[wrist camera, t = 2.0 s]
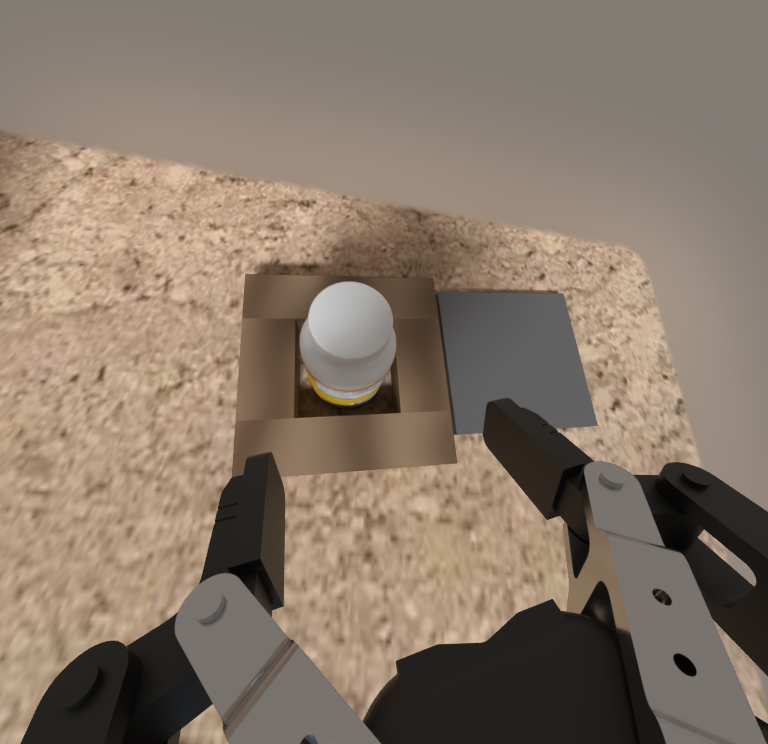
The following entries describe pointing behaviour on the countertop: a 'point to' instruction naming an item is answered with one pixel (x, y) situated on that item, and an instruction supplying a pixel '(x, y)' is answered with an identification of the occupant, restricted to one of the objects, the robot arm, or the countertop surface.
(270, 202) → the countertop surface
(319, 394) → the supplement bottle
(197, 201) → the countertop surface
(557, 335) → the rubber mat
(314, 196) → the countertop surface
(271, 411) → the walnut socket
